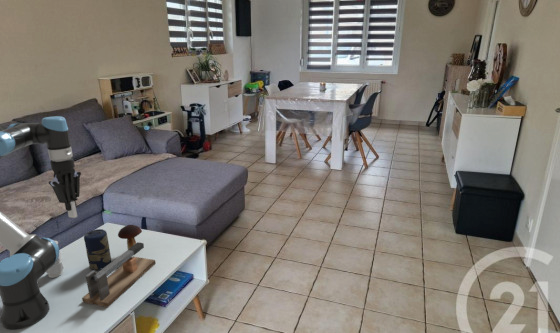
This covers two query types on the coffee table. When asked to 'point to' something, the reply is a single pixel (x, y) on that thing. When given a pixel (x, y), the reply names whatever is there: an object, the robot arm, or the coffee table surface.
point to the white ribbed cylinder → (56, 267)
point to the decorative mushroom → (129, 234)
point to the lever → (119, 260)
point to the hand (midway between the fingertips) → (73, 216)
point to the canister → (97, 249)
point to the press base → (115, 281)
